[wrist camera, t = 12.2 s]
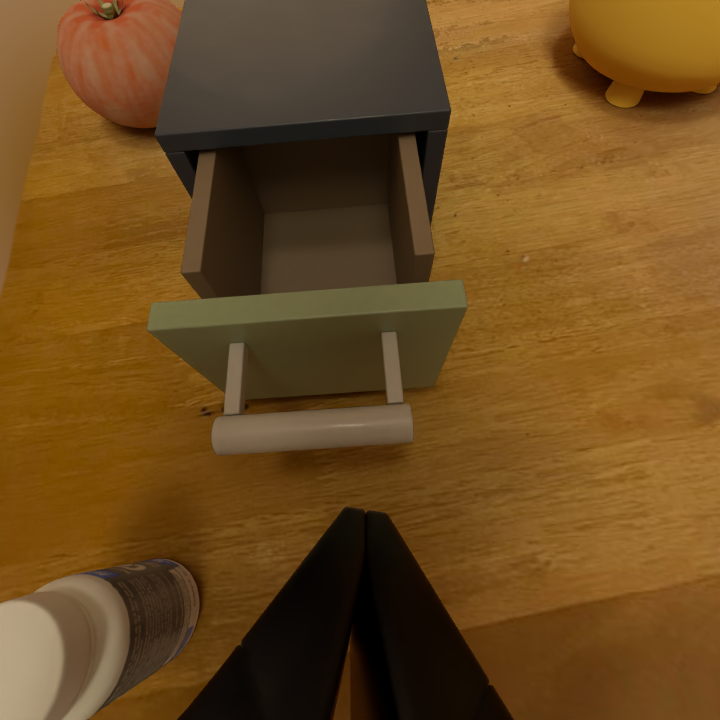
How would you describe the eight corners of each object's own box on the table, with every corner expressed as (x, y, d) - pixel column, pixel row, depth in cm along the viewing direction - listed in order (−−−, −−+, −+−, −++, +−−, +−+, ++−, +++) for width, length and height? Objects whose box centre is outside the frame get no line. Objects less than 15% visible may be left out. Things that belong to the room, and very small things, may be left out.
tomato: (101, 85, 35) (29, -28, 28) (214, 61, 36) (172, -55, 29) (101, 164, 31) (15, 55, 24) (228, 135, 32) (183, 21, 25)
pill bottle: (180, 538, 20) (53, 552, 12) (217, 628, 18) (97, 712, 10) (94, 594, 19) (-101, 647, 11) (124, 694, 17) (-81, 836, 10)
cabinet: (423, 266, 26) (451, 109, 16) (239, 280, 26) (153, 135, 16) (402, 122, 32) (412, -60, 22) (251, 134, 32) (193, -40, 22)
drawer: (445, 464, 20) (492, 427, 12) (227, 478, 20) (122, 451, 12) (408, 206, 27) (421, 68, 18) (247, 219, 27) (190, 89, 19)
